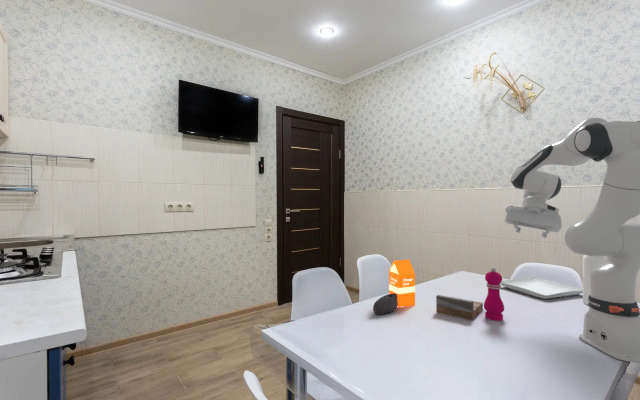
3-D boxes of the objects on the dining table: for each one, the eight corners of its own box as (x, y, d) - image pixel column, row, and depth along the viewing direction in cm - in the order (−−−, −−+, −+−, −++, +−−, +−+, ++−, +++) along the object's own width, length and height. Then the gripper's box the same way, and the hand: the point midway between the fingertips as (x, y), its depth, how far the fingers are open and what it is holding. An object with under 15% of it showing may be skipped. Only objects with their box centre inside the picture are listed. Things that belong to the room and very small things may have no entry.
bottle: (578, 301, 148) (577, 236, 148) (594, 301, 149) (593, 236, 149) (593, 307, 140) (592, 238, 140) (611, 307, 141) (610, 238, 141)
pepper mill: (499, 315, 132) (498, 266, 132) (507, 321, 125) (507, 269, 125) (480, 314, 132) (480, 265, 133) (488, 321, 125) (487, 269, 125)
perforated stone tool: (378, 318, 130) (378, 300, 130) (368, 314, 134) (368, 297, 134) (401, 310, 139) (401, 294, 139) (392, 307, 143) (391, 291, 143)
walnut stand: (449, 303, 148) (449, 287, 148) (482, 309, 139) (482, 293, 139) (436, 312, 135) (436, 295, 135) (472, 320, 126) (472, 302, 126)
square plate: (497, 287, 175) (496, 280, 175) (535, 283, 183) (535, 276, 183) (545, 302, 149) (545, 294, 149) (587, 296, 157) (587, 288, 157)
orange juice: (415, 305, 145) (414, 260, 145) (399, 307, 142) (398, 262, 142) (404, 300, 152) (404, 258, 153) (388, 302, 149) (388, 259, 149)
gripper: (507, 200, 145) (504, 224, 138) (563, 209, 136) (562, 235, 128) (505, 209, 149) (501, 233, 142) (559, 218, 140) (557, 244, 133)
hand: (531, 234), depth 135 cm, fingers open, 8 cm apart
